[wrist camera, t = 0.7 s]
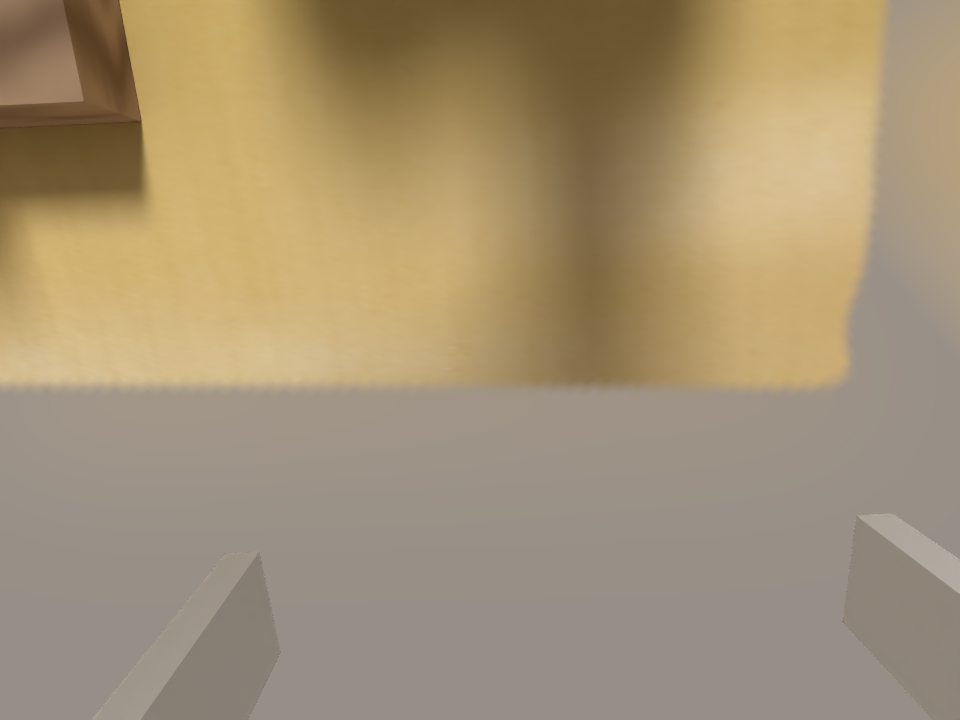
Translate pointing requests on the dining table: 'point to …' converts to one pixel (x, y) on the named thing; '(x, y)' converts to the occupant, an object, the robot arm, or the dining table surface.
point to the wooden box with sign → (64, 64)
